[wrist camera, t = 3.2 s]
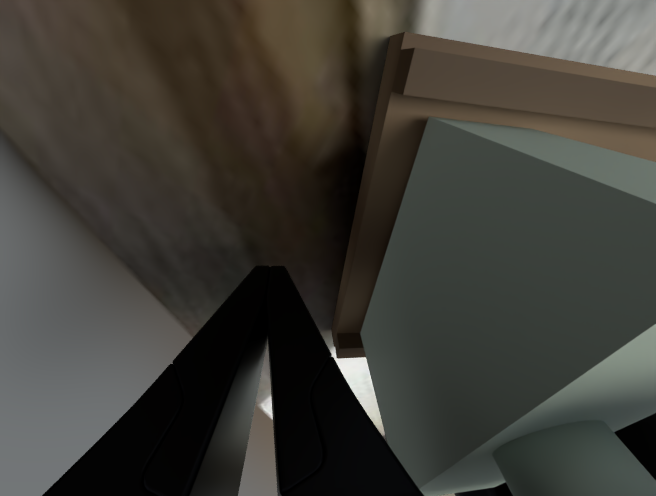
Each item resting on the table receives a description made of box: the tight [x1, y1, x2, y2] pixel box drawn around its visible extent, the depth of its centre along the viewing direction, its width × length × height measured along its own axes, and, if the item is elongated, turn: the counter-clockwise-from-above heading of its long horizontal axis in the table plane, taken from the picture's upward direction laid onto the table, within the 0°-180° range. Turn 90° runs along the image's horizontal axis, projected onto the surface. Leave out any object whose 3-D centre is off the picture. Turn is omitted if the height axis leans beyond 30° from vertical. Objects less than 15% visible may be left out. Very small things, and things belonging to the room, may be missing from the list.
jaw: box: [360, 116, 656, 496], centre depth 6 cm, size 9×3×7 cm, turn 173°
